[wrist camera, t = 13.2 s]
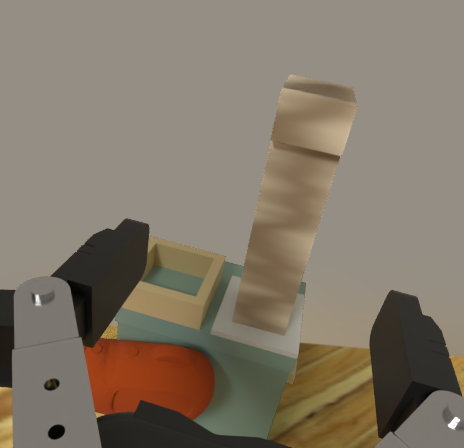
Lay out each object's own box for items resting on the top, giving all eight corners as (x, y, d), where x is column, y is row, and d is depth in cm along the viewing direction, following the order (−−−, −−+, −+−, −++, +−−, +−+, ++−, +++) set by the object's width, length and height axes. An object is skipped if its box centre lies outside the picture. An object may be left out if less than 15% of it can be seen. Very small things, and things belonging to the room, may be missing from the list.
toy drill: (-61, 431, 31) (-86, 284, 23) (184, 445, 35) (233, 326, 27) (-99, 503, 27) (-143, 356, 19) (184, 509, 31) (241, 391, 23)
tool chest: (103, 431, 34) (104, 279, 26) (143, 358, 41) (153, 221, 33) (263, 483, 32) (316, 339, 24) (276, 398, 39) (320, 264, 31)
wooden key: (229, 328, 26) (281, 90, 19) (243, 284, 30) (290, 74, 23) (283, 343, 26) (357, 106, 18) (289, 296, 30) (352, 87, 22)
